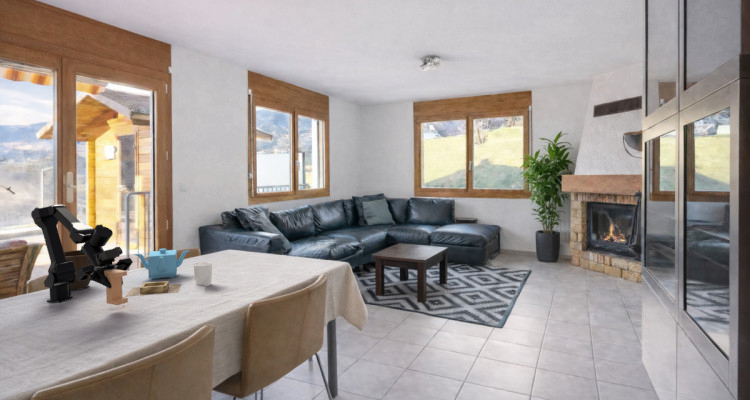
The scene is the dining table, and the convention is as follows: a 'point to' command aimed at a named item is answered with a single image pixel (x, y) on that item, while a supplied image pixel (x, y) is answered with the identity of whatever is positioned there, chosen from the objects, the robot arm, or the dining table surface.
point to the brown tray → (154, 289)
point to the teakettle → (162, 263)
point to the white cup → (203, 273)
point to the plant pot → (78, 267)
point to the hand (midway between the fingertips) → (116, 286)
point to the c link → (115, 287)
